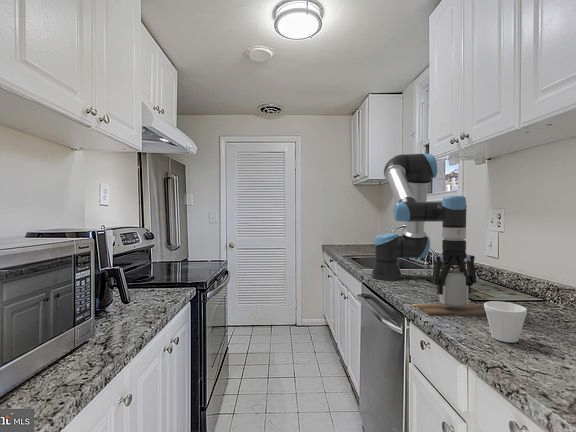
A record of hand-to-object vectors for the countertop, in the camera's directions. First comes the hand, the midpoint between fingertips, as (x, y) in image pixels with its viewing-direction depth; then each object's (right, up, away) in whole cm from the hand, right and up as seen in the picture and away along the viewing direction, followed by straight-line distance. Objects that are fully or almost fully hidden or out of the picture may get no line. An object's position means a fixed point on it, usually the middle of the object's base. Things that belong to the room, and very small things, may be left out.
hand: (453, 302), depth 113 cm
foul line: (0, -3, +7) cm, 7 cm away
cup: (+1, -4, -25) cm, 25 cm away
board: (0, -3, 0) cm, 3 cm away
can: (0, -1, 0) cm, 1 cm away
